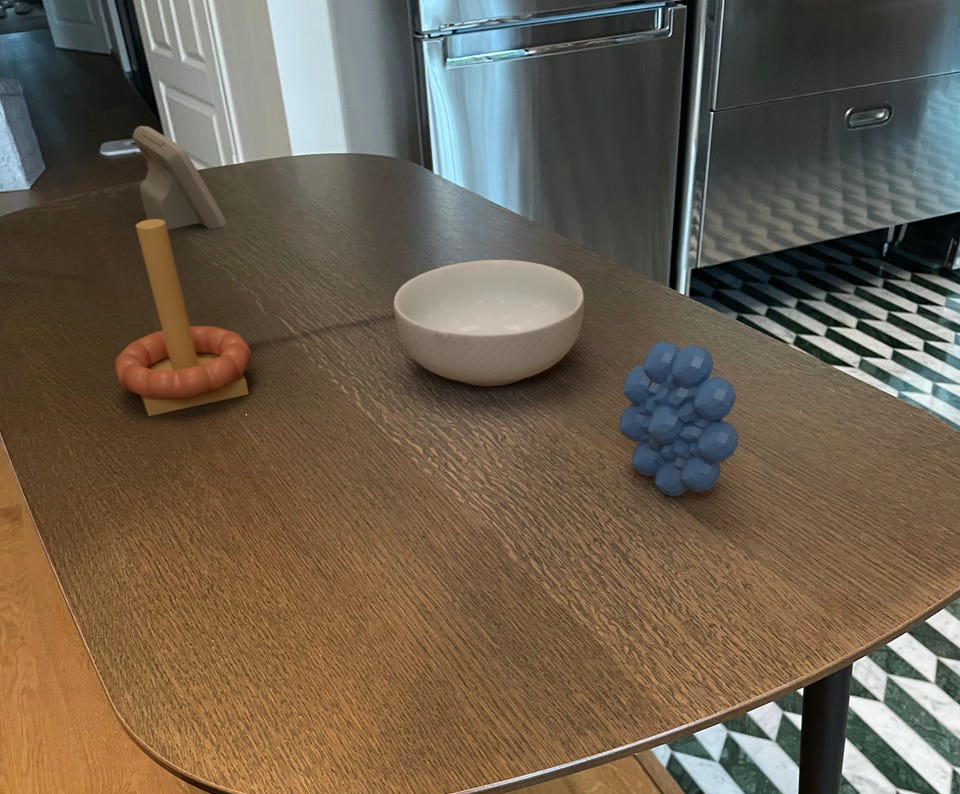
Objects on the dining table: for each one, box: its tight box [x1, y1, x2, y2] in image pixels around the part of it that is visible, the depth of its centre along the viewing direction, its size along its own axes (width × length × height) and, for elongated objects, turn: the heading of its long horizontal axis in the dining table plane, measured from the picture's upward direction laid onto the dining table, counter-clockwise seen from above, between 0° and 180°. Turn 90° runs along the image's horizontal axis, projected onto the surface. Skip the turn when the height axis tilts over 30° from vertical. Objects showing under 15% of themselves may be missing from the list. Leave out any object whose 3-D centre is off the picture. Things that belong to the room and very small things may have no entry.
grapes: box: [618, 340, 739, 497], centre depth 71 cm, size 12×7×12 cm, turn 31°
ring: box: [113, 325, 253, 399], centre depth 90 cm, size 12×12×2 cm
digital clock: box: [132, 125, 228, 231], centre depth 126 cm, size 16×9×11 cm, turn 20°
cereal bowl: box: [393, 259, 585, 387], centre depth 90 cm, size 17×17×7 cm
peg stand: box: [135, 219, 250, 417], centre depth 88 cm, size 9×9×14 cm
